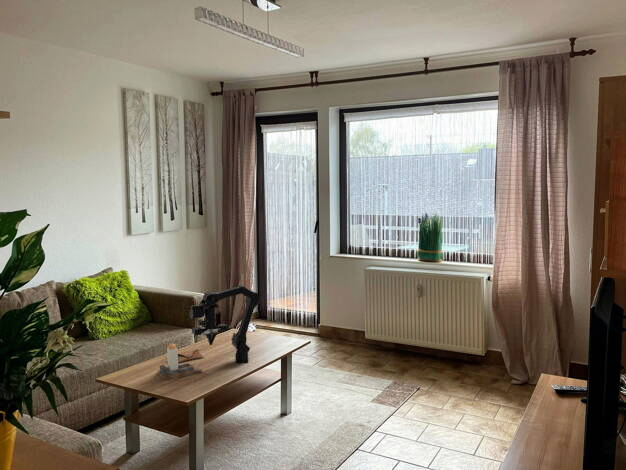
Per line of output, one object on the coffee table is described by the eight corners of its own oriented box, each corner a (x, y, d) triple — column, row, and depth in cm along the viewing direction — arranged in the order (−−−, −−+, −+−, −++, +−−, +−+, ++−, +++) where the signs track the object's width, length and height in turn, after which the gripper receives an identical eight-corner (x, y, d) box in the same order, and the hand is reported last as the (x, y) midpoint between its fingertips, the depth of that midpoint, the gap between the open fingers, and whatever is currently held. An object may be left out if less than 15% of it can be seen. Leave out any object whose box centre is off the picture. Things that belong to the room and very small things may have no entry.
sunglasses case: (175, 364, 293) (172, 352, 295) (171, 368, 298) (168, 356, 300) (205, 357, 304) (202, 346, 306) (200, 361, 309) (197, 350, 311)
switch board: (195, 366, 290) (194, 358, 290) (202, 372, 280) (202, 364, 280) (157, 372, 280) (157, 364, 280) (163, 379, 270) (163, 371, 270)
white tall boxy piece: (175, 368, 281) (174, 341, 280) (178, 371, 277) (177, 344, 276) (167, 370, 279) (166, 342, 278) (170, 373, 275) (169, 345, 274)
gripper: (221, 311, 298) (221, 338, 299) (188, 315, 288) (189, 344, 290) (228, 315, 288) (229, 343, 290) (194, 319, 279) (195, 349, 280)
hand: (210, 345), depth 288 cm, fingers closed
